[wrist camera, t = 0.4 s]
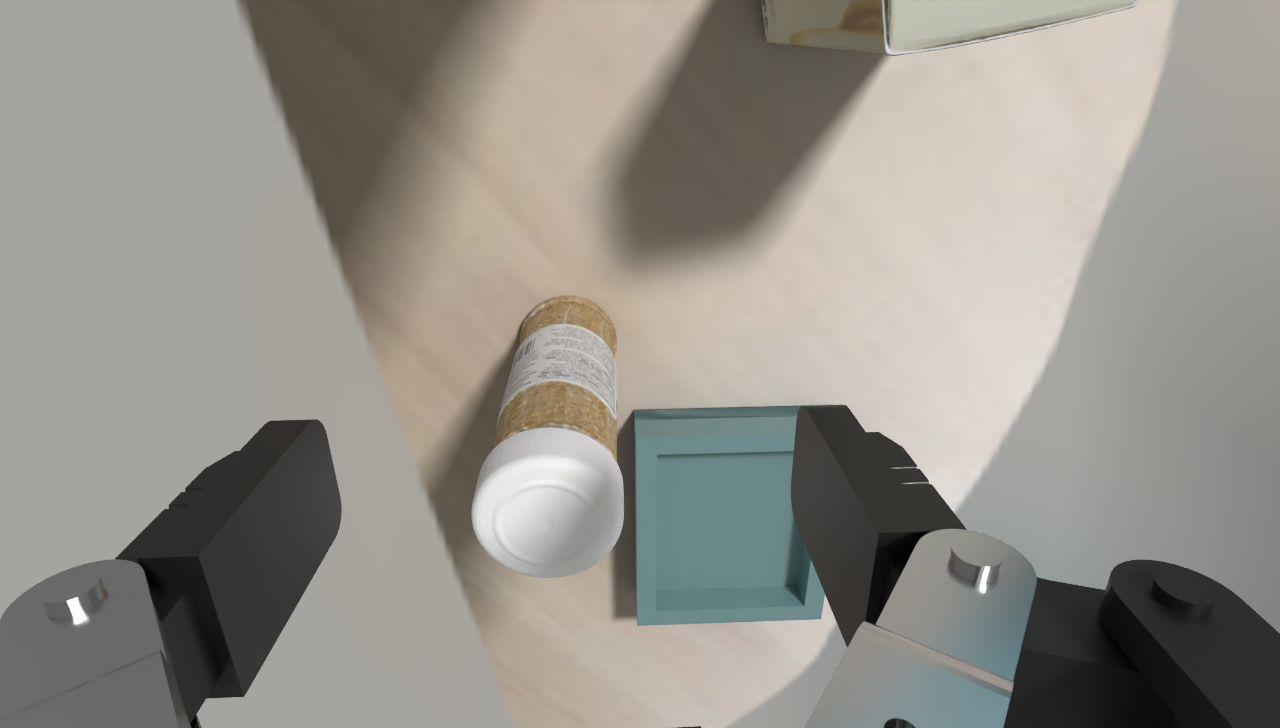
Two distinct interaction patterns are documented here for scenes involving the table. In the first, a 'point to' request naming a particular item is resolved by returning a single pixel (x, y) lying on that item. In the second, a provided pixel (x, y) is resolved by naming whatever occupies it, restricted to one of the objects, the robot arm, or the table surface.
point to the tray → (719, 518)
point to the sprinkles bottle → (555, 447)
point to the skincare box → (918, 21)
